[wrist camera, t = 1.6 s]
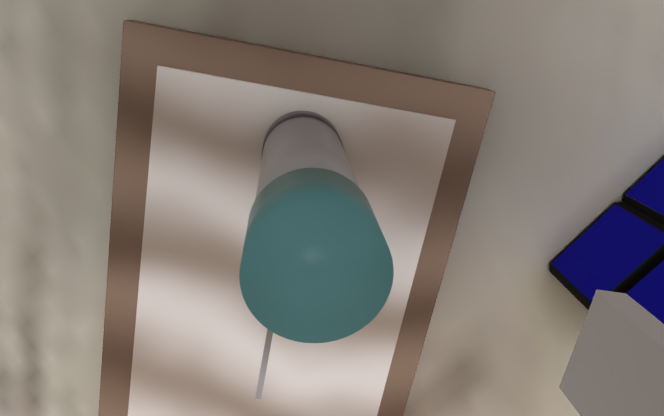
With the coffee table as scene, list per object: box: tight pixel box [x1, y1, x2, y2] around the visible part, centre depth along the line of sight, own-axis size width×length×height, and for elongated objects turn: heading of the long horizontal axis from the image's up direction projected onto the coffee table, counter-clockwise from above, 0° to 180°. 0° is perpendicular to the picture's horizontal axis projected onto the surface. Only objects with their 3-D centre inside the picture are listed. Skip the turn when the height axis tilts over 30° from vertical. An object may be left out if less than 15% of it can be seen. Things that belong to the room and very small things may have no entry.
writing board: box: [99, 20, 495, 416], centre depth 27 cm, size 22×16×1 cm
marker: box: [239, 111, 394, 343], centre depth 18 cm, size 4×4×12 cm
